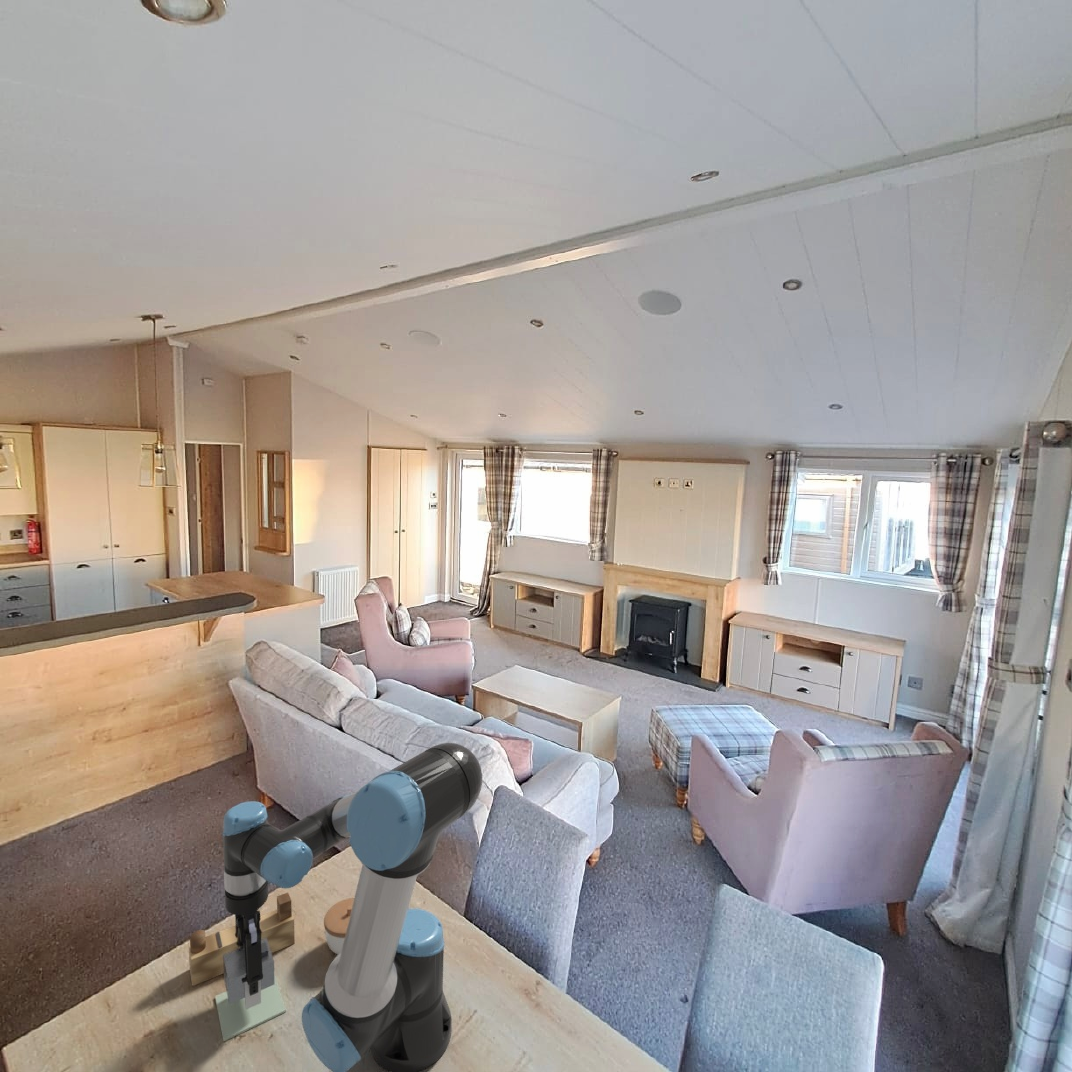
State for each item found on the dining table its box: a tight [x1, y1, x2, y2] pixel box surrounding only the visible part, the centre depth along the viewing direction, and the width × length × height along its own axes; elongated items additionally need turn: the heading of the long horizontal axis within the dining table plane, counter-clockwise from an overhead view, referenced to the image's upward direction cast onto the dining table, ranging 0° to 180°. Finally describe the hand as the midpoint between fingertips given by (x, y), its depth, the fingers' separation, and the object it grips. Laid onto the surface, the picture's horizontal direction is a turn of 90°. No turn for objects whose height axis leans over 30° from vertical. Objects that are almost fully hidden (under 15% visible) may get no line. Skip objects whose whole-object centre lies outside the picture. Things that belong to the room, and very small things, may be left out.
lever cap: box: [223, 938, 275, 1004], centre depth 117 cm, size 7×8×6 cm
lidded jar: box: [323, 897, 355, 956], centre depth 132 cm, size 11×11×9 cm
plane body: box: [188, 892, 296, 987], centre depth 129 cm, size 20×5×10 cm, turn 125°
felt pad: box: [214, 972, 287, 1042], centre depth 118 cm, size 11×11×1 cm
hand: (249, 989), depth 118 cm, fingers closed on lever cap, 7 cm apart
